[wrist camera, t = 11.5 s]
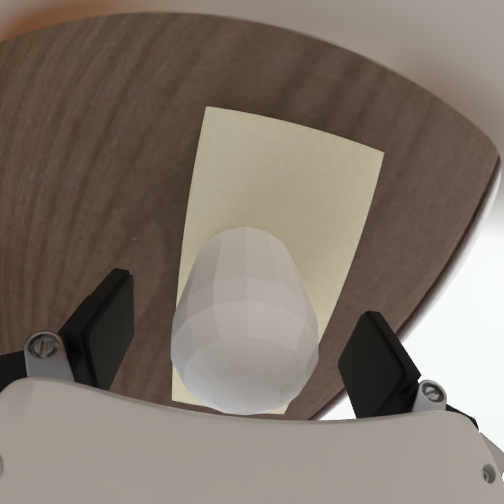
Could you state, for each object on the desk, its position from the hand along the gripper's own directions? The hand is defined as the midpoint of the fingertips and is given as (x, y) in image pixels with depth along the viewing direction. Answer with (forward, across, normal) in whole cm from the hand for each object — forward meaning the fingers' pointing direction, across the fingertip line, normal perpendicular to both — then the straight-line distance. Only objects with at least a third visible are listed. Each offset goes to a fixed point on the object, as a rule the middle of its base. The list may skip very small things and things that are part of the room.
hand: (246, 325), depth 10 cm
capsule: (+4, 0, 0) cm, 4 cm away
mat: (+5, -1, +2) cm, 5 cm away
